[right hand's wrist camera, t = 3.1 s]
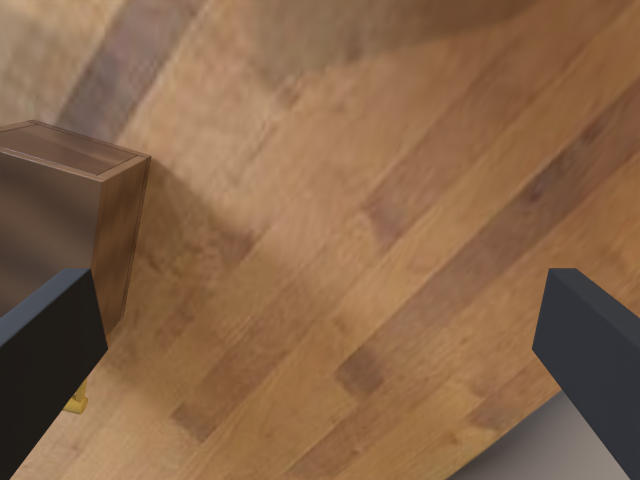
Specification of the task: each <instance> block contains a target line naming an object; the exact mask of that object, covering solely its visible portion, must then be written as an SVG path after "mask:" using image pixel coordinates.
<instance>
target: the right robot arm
mask: <svg viewBox="0 0 640 480" xmlns="http://www.w3.org/2000/svg"><path fill="white" fill-rule="evenodd" d="M107 350H108V346H107V341H106V337H105V332H104V327H103V323H102V318H101V313H100V309H99V304H98V299H97V295H96V290H95V285H94V281H93V276H92V271H91V268H64V269H63V270H62V271H60V272H59V273H58V274H56V275H55V276H54V277H53V278H51V279H50V280H49V281H47V282H46V283H45V284H44V285H42V286H41V287H40V288H38V289H37V290H36V291H35V292H33V293H32V294H31V295H30V296H28V297H27V298H26V299H24V300H23V301H22V302H21V303H19V304H18V305H17V306H15V307H14V308H13V309H12V310H10V311H9V312H8V313H6V314H5V315H4V316H3V317H1V318H0V480H10V478H11V477H12V476H13V474H14V473H15V472H16V470H17V469H18V468H19V466H20V465H21V464H22V462H23V461H24V460H25V458H26V457H27V456H28V454H29V453H30V452H31V451H32V449H33V448H34V447H35V445H36V444H37V443H38V441H39V440H40V439H41V437H42V436H43V435H44V433H45V432H46V431H47V429H48V428H49V427H50V425H51V424H52V423H53V421H54V420H55V419H56V417H57V416H58V415H59V413H60V412H61V411H62V410H63V408H64V407H65V406H66V404H67V403H68V402H69V400H70V399H71V398H72V396H73V395H74V394H75V392H76V391H77V390H78V388H79V387H80V386H81V384H82V383H83V382H84V380H85V379H86V378H87V376H88V375H89V374H90V372H91V371H92V370H93V368H94V367H95V366H96V365H97V363H98V362H99V361H100V359H101V358H102V357H103V355H104V354H105V353H106V351H107ZM532 350H533V351H534V353H535V354H536V355H537V357H538V358H539V359H540V361H541V362H542V363H543V365H544V366H545V367H546V368H547V370H548V371H549V372H550V374H551V375H552V376H553V378H554V379H555V380H556V382H557V383H558V384H559V386H560V387H561V388H562V390H563V391H564V392H565V394H566V395H567V396H568V398H569V399H570V400H571V401H572V403H573V404H574V406H575V407H576V408H577V409H578V411H579V412H580V413H581V415H582V416H583V417H584V419H585V420H586V421H587V423H588V424H589V425H590V427H591V428H592V429H593V431H594V432H595V433H596V435H597V436H598V437H599V439H600V440H601V441H602V442H603V444H604V445H605V447H606V448H607V449H608V451H609V452H610V453H611V454H612V456H613V457H614V458H615V460H616V461H617V462H618V464H619V465H620V466H621V468H622V469H623V470H624V472H625V473H626V474H627V476H628V477H629V478H630V480H640V318H639V317H637V316H636V315H635V314H634V313H632V312H631V311H630V310H628V309H627V308H626V307H625V306H623V305H622V304H621V303H619V302H618V301H617V300H616V299H614V298H613V297H612V296H610V295H609V294H608V293H607V292H605V291H604V290H603V289H602V288H600V287H599V286H598V285H596V284H595V283H594V282H593V281H591V280H590V279H589V278H587V277H586V276H585V275H584V274H582V273H581V272H580V271H578V270H577V269H576V268H549V271H548V276H547V281H546V285H545V290H544V295H543V299H542V304H541V309H540V313H539V318H538V323H537V327H536V332H535V337H534V341H533V346H532Z"/></svg>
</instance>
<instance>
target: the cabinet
mask: <svg viewBox="0 0 640 480" xmlns="http://www.w3.org/2000/svg"><path fill="white" fill-rule="evenodd" d="M150 161H151V156H149V155H146V154H143V153H139V152H136V151H133V150H129V149H126V148H123V147H120V146H116V145H113V144H110V143H107V142H103V141H100V140H97V139H94V138H90V137H87V136H84V135H81V134H77V133H74V132H71V131H67V130H64V129H61V128H58V127H54V126H51V125H48V124H45V123H41V122H38V121H35V120H30V121H27V122H22V123H17V124H12V125H6V126H1V127H0V318H1V317H3V316H4V315H5V314H6V313H8V312H9V311H10V310H12V309H13V308H14V307H15V306H17V305H18V304H19V303H21V302H22V301H23V300H24V299H26V298H27V297H28V296H30V295H31V294H32V293H33V292H35V291H36V290H37V289H38V288H40V287H41V286H42V285H44V284H45V283H46V282H47V281H49V280H50V279H51V278H53V277H54V276H55V275H56V274H58V273H59V272H60V271H62V270H63V269H64V268H91V271H92V276H93V281H94V285H95V290H96V295H97V299H98V304H99V309H100V313H101V318H102V323H103V327H104V332H105V337H107V336H108V334H109V333H110V332H111V331H112V329H113V328H114V327H115V326H116V324H117V323H118V322H119V321H120V320H121V319H122V318H123V315H124V309H125V304H126V298H127V292H128V286H129V281H130V275H131V269H132V264H133V258H134V252H135V247H136V241H137V235H138V230H139V224H140V218H141V212H142V207H143V201H144V195H145V190H146V184H147V178H148V173H149V167H150Z"/></svg>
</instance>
